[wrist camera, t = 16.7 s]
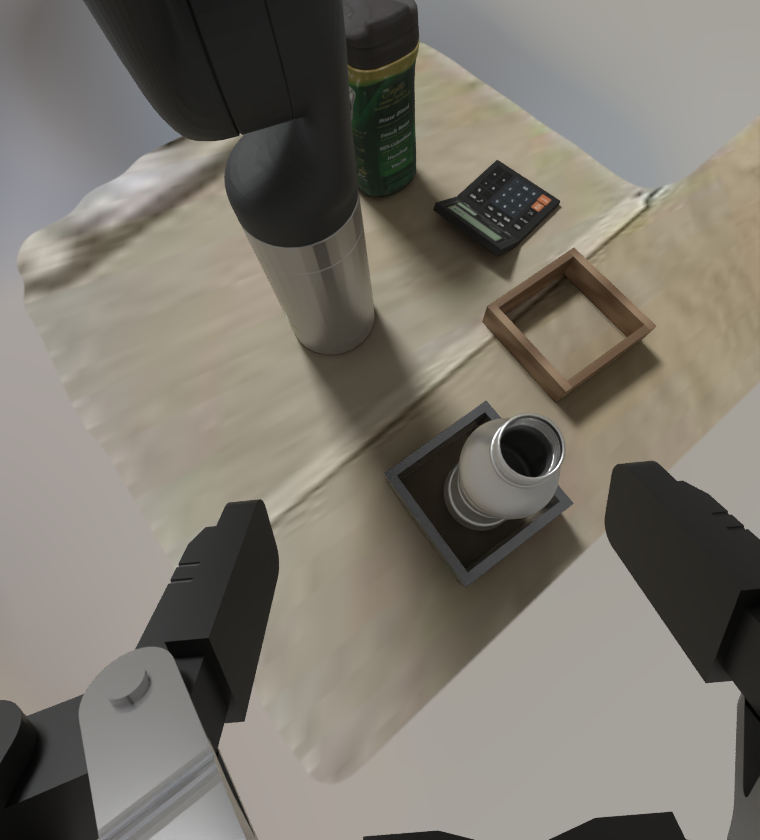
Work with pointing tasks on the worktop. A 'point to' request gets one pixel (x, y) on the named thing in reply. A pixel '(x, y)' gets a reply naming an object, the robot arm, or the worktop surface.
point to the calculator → (498, 208)
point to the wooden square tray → (596, 291)
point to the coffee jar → (382, 91)
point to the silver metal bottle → (505, 471)
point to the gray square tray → (394, 478)
